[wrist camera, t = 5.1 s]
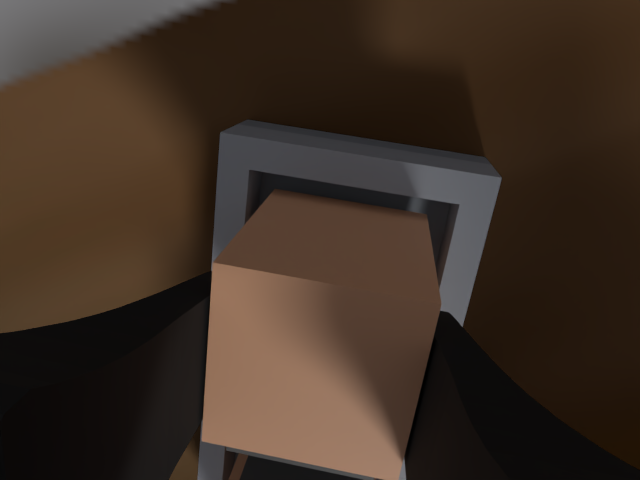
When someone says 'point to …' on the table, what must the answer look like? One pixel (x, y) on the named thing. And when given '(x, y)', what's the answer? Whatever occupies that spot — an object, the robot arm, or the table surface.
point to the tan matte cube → (321, 334)
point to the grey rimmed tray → (356, 186)
